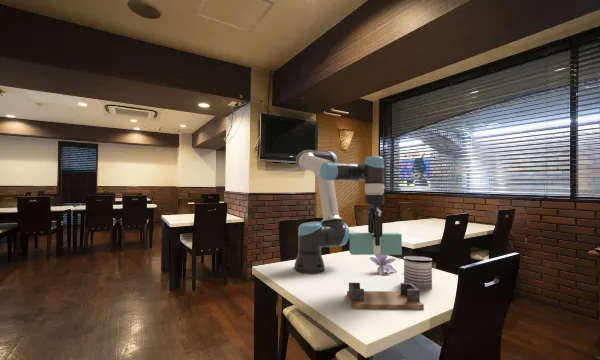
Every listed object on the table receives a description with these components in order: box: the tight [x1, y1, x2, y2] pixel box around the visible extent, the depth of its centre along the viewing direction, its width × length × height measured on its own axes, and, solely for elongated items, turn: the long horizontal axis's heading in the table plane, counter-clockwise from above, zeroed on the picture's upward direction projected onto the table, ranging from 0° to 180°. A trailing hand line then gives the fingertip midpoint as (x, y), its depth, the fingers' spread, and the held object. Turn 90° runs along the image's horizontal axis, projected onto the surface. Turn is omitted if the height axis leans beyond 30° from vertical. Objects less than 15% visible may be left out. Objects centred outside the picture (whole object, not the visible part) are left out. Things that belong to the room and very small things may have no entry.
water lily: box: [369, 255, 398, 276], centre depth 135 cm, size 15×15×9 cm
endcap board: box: [346, 282, 425, 310], centre depth 98 cm, size 24×12×6 cm, turn 90°
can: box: [403, 255, 433, 291], centre depth 115 cm, size 11×11×12 cm
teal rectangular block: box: [348, 232, 403, 256], centre depth 110 cm, size 20×4×8 cm, turn 91°
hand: (375, 252), depth 110 cm, fingers closed on teal rectangular block, 4 cm apart
